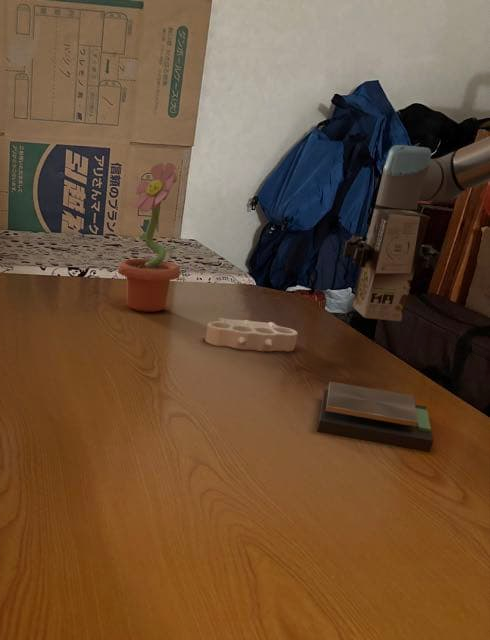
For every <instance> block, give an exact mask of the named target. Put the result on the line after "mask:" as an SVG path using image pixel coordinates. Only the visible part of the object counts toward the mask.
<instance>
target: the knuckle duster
mask: <svg viewBox="0 0 490 640" xmlns="http://www.w3.org/2000/svg"><path fill="white" fill-rule="evenodd" d="M298 334H299V333H298V331H296V330H295V329H293V328H289V327H286V326H280V325H277V324H276V323H275V322H274V321H268V322H263V321H255V320H254V321H253V320H249V319H244V320H242V319H230V318H224V317H219V318H217V320H216V321H210V322H208V323H207V326H206V334H205V337H204V338H205V339H204V340H205V342H206V343H207V344H209V345H212V346H216V347H226V348H227V347H228V348H233V349H236V350H242V351H243V350H244V351H257V352H264V353H265V352H293V351H295V348H296V344H297V341H298V340H297V339H298Z"/></svg>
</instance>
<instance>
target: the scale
mask: <svg viewBox="0 0 490 640" xmlns="http://www.w3.org/2000/svg"><path fill="white" fill-rule="evenodd" d="M327 396H328V389H324V390H323V394H322V399H321V404H320V411H319V417H318V423H317V429H316V432H318V433H322V434H327V435H333V436H340V437H345V438H350V439H356V440H361V441H367V442H372V443H378V444H384V445H389V446H394V447H399V448H400V447H401V448H406V449H411V450H417V451H421V452H427V453H430V452H431V449H432V446H433V443H434V438H433V433H432V426H431V423H430V417H429V413H428V409H427V406H426V405H420V404H415V407H416V413H417V418H418V424H417V427H414V426H409V425H403V424H397V423H392V422H386V421H380V420H374V419H369V418H363V417H357V416H352V415H346V414H340V413H334V412H329V411H326V403H327Z"/></svg>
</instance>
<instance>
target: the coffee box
mask: <svg viewBox="0 0 490 640" xmlns="http://www.w3.org/2000/svg"><path fill="white" fill-rule="evenodd" d="M373 212H374V215H373V214H372V216H373V219H372V218H371V220H372V224H371V223H370V224H371V228H370V232H369V237H368V241H367V244H369V253H368V257H367V261H366V265H365V268H364V267H360V268H361V269H360V273H359V277H358V283H357V286H356V291H355V296H354V299H353V304H352V308H353V309H355V310H356V312H357V313H358V314H360V315H361V317H363V318H365V319H370V320H371V319H373V320H383V321H392V322H402V320H403V316H404V312H405V309H406V305H407V300H408V298H409V293H410V290H411V286H412V282H413V279H414V278H413V277H414V275H415V274H414V271H415V268H416V264H417V260H418V256H419V253H420V249H421V246H422V245H423V242H424V239H425V235H426V230H427V226H428V222H429V219H430V216H428V215H426V214H423V213H421V212H418V211H416V212H414V211H409V210H396V209H387V210H386V209H375V211H374V210H373Z"/></svg>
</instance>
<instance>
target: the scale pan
mask: <svg viewBox="0 0 490 640" xmlns="http://www.w3.org/2000/svg"><path fill="white" fill-rule="evenodd" d="M327 390H328V396H327V403H326V411H329V412H334V413H340V414H346V415H352V416H357V417H363V418H369V419H374V420H380V421H386V422H392V423H397V424H403V425H409V426H414V427H417V424H418V418H417V413H416V407H415V405H416V402H415V397H414V395H413V394H408V393H402V392H395V391H391V390H390V391H389V390H383V389H377V388H371V387H367V386H366V387H365V386H359V385H355V384H354V385H353V384H347V383H341V382H335V381H329V383H328V389H327Z"/></svg>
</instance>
